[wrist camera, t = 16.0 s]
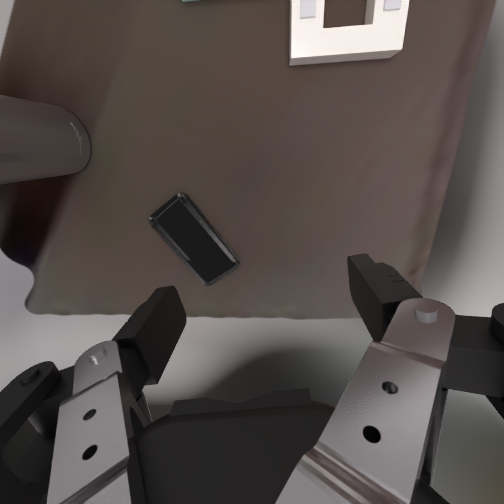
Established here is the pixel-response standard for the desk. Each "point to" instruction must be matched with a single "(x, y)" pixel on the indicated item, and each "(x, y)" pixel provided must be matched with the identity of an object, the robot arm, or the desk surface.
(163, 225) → the phone
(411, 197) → the desk surface
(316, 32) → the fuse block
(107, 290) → the desk surface
